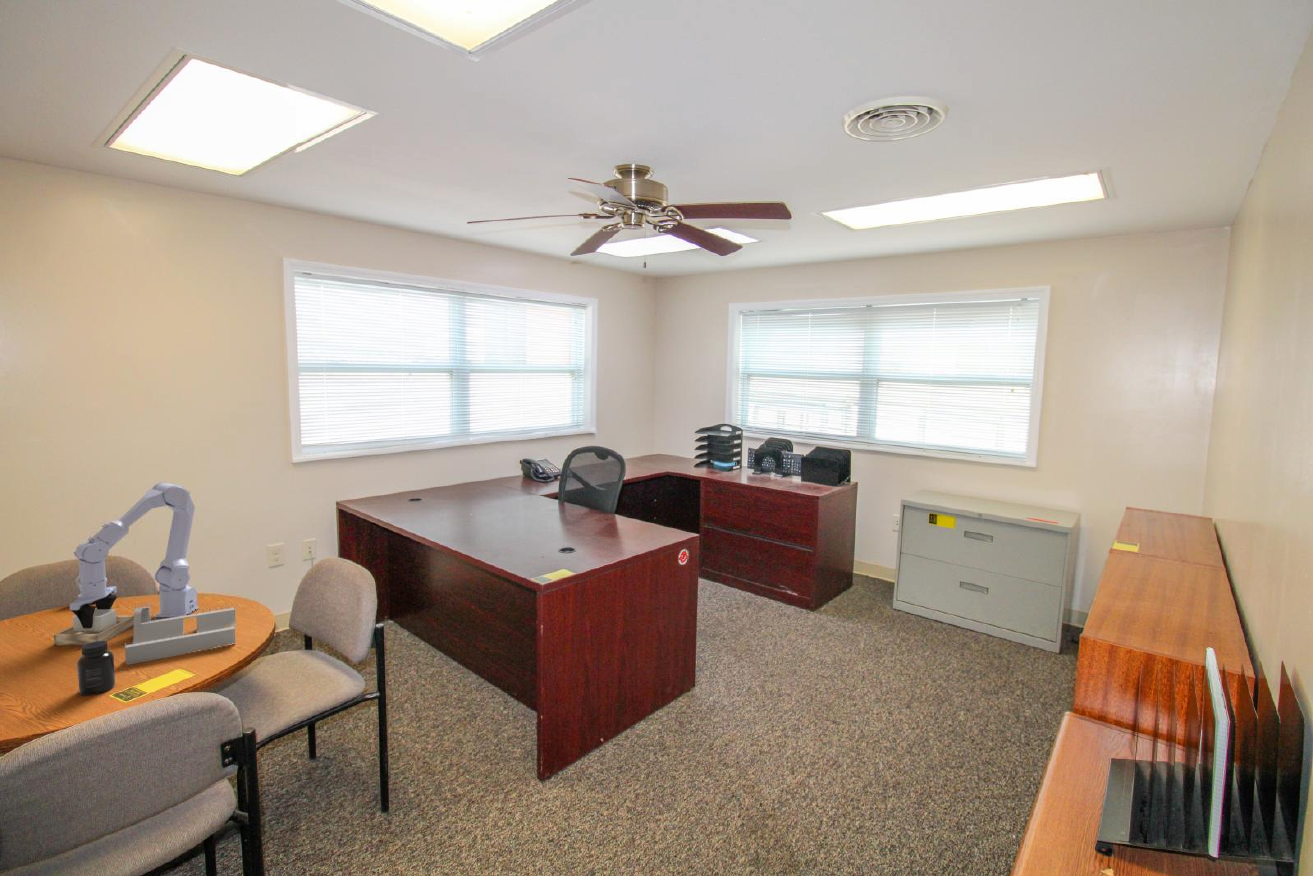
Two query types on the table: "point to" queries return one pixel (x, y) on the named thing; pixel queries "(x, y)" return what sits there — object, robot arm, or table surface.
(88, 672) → the supplement bottle
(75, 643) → the shallow wooden tray
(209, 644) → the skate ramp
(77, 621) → the small crate
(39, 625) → the table surface
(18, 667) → the table surface
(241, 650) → the table surface
